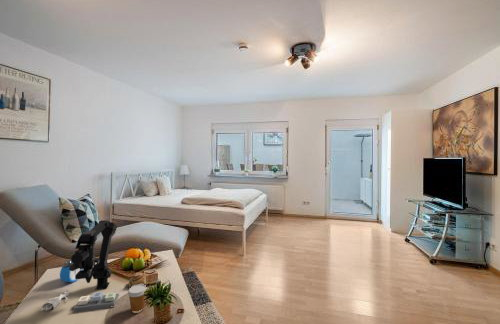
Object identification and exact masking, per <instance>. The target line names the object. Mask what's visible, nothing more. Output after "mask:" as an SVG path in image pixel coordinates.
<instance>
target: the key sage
mask: <svg viewBox="0 0 500 324" xmlns="http://www.w3.org/2000/svg"><path fill="white" fill-rule="evenodd" d="M116 294H117V292H108V293H106V297H105V302H107V301H114V299H115V297H116Z"/></svg>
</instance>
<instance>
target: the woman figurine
mask: <svg viewBox="0 0 500 324" xmlns="http://www.w3.org/2000/svg"><path fill="white" fill-rule="evenodd" d="M69 294H70V292H69V291H68V290H65V291H64V292H63V294H62V293H60V294H59V296H56V297H53V298H49V299H46V302H45V303H44V304H42V306H41V312H42V311H50V310H52V308H53V309H55V308H56V307H57V306H58V305H59V303H60V302H61V301H62V299H66V302H68V301H69V300H68V296H69Z"/></svg>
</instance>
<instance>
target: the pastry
mask: <svg viewBox="0 0 500 324" xmlns="http://www.w3.org/2000/svg"><path fill="white" fill-rule="evenodd" d="M144 273H145V272H136V273H134V274H133V275H132V276H131V278H129V281H128V288H129V289H130V287H132V286H134V285H137V284H143V280H144Z"/></svg>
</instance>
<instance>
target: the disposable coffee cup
mask: <svg viewBox="0 0 500 324" xmlns="http://www.w3.org/2000/svg"><path fill="white" fill-rule="evenodd" d="M146 289H147V290H148V287H146V285H144V284H137V285H134V286H132V287H131V288H129V289H128V291H127V294H128V296H129V297H128V298H129V305H130V311H131V310H132V311H139V310H141V309H143V308H144V309H145V304H146V300H145V301H144V298H145V296H144V291H145V290H146ZM145 299H146V298H145Z"/></svg>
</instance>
